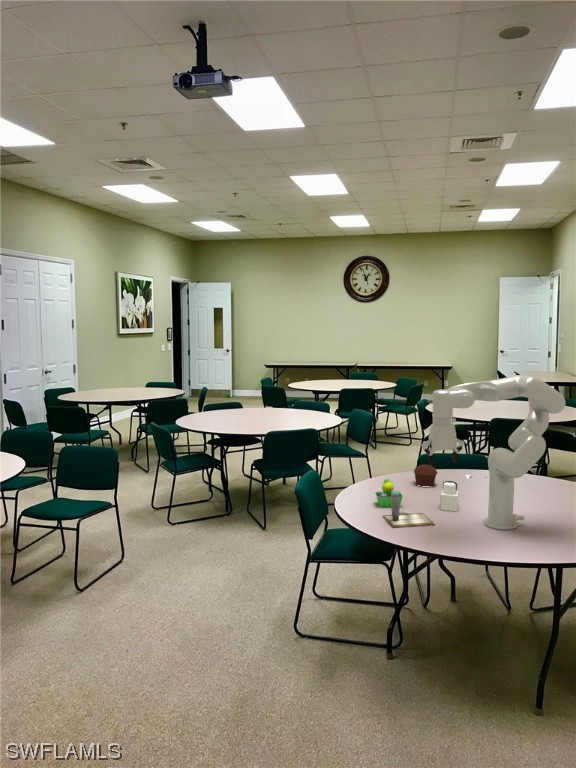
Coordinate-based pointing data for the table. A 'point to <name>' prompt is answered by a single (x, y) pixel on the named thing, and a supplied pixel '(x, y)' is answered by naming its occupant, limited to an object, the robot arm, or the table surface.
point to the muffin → (425, 475)
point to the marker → (395, 505)
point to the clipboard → (409, 520)
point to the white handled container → (449, 496)
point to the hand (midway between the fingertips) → (443, 463)
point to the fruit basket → (386, 494)
